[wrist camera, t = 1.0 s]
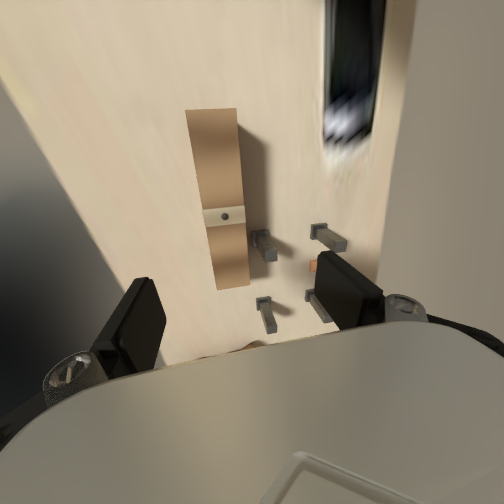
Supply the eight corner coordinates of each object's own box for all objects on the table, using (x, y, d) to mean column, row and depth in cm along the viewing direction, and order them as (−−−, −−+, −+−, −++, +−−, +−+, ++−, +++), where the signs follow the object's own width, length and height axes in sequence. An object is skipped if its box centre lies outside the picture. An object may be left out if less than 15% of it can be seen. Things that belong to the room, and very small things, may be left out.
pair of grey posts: (256, 298, 35) (264, 325, 30) (317, 288, 37) (336, 312, 31) (256, 308, 36) (264, 336, 31) (316, 298, 38) (334, 323, 32)
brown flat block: (310, 260, 34) (311, 262, 33) (321, 259, 34) (322, 260, 34) (309, 270, 35) (311, 272, 34) (319, 268, 35) (321, 270, 35)
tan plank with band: (191, 121, 23) (184, 109, 17) (231, 119, 23) (236, 107, 18) (216, 268, 32) (216, 291, 26) (244, 263, 32) (250, 285, 27)
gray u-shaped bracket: (252, 231, 30) (261, 248, 24) (325, 222, 31) (350, 237, 25) (253, 245, 31) (262, 265, 25) (323, 236, 32) (347, 253, 26)
